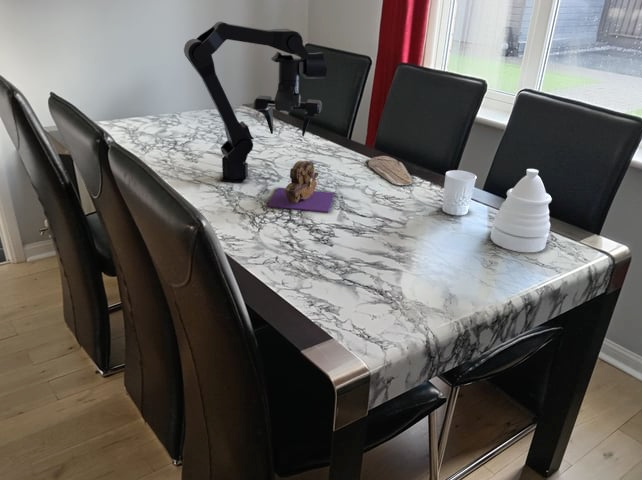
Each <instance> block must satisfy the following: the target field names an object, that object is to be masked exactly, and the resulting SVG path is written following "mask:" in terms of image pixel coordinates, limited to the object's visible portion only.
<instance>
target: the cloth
mask: <svg viewBox="0 0 642 480" xmlns="http://www.w3.org/2000/svg"><path fill="white" fill-rule="evenodd" d="M285 189H286V187H285V188H284V187H278V188H277V189H276V190H275V192H274V194H273V196H272V197H271V199H270V200H269V202H268V204H267V208H275V209H287V210H296V211H305V212H306V211H308V212H316V213H317V212H318V213H327V214H328V213H329V211H330V208H331V205H332V203H333V200H334V196H335V192H328V191H318V190H317V191H316V190H314V192H313V194H312V195H311V196H310V197H309V198H308V199H305V200H303V199H299V201H298V202H297V203H289V202H288V199H287V195H286V193H285Z"/></svg>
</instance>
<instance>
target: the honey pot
mask: <svg viewBox="0 0 642 480" xmlns="http://www.w3.org/2000/svg"><path fill="white" fill-rule="evenodd" d="M525 173H526V175H524V176H523V177H522V178H521V179H520V180H519V181H518V182H517V183H516V184H515V185H514V187H512V188H509V189H508V190H507V191H506V196H507V197H506V199H505V200H504V201H502V203H501V206H500V207H499V209H498V211H497V213H495V216H494V218H493V219H494V220H493V223H492V227H491V232H490V240H491V242H493V243H494V244H495V245H497V246H499V247H501V248H503V249H506V250H509V251H512V252H513V251H514V252H519V253H539V252H541V251H543V250H544V249H545V248H546V245H547V242H548V237H549V233H550V229H551V222H550V219H551V217H550V209H549V204H551V203H552V200H553V198H552V197H551V195H550V194H549V193H547V191H546V188H545V186H544V183H543V180H542V179H541V177H540V176H539V169H536V168H527V169H526V172H525Z"/></svg>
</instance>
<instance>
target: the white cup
mask: <svg viewBox="0 0 642 480" xmlns="http://www.w3.org/2000/svg"><path fill="white" fill-rule="evenodd" d="M476 180H477V175H476V174H475V173H473V172H470V171H466V170H461V169H459V170H458V169H455V170H454V169H453V170H448V171H446V172H445V176H444V185H443V193H442V194H443V195H442V208H441V209H442V212H443V213H445V214H448V215H451V216H464V215H467V214H468V212H469V209H470V204H471V201H472V197H473V195H474V189H475V185H476Z"/></svg>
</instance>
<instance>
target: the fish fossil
mask: <svg viewBox="0 0 642 480" xmlns="http://www.w3.org/2000/svg"><path fill="white" fill-rule="evenodd" d="M367 162H368V163H367V165H368V167H369V168H370V169H372V170H373V171H374V172H376V173H377V174H378V175H379V176H380V177H382V178H383V179H385V180H386V181H387V182H389V183H390V184H392V185H396V186H409V185H412V183H413V179H412V176H411V175H410V173H409V171H408V170H407V168H406V166H405V165H404V164H403V163H402V161H398V160H397V159H395V158H393V157H390V156H387V155H380V156H375V157H371V159H369V161H367Z"/></svg>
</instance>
